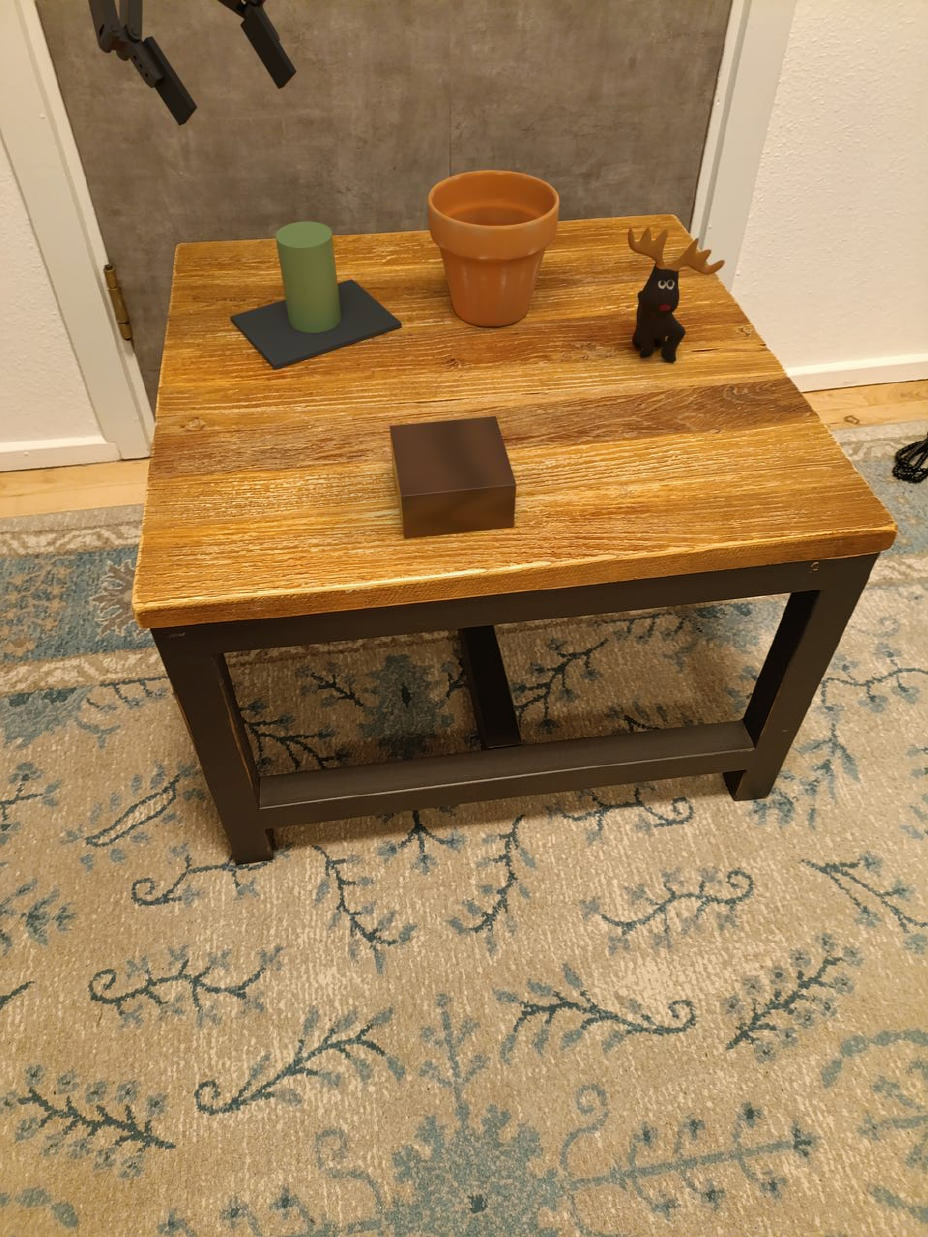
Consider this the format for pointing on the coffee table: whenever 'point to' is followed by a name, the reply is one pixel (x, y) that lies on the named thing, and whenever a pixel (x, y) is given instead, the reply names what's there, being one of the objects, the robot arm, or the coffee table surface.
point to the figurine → (663, 295)
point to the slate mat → (291, 346)
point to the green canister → (309, 276)
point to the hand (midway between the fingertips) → (240, 97)
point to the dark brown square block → (452, 477)
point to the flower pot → (492, 241)
